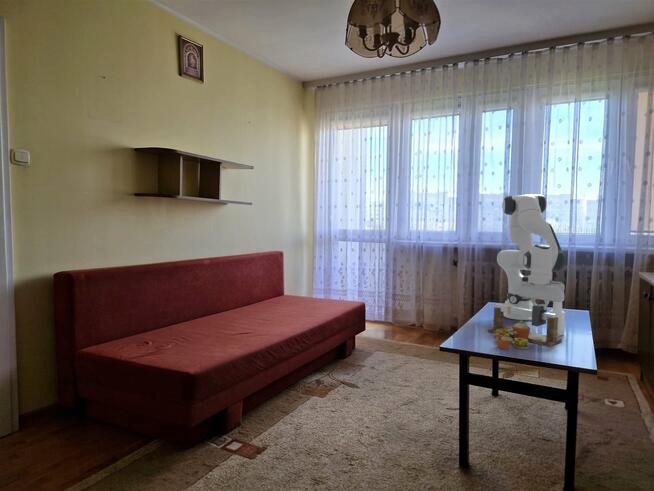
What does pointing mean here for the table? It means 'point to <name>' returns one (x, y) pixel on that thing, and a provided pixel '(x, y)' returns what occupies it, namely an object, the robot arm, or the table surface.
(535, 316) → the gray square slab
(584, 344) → the table surface
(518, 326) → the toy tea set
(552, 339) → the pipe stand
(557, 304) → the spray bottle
